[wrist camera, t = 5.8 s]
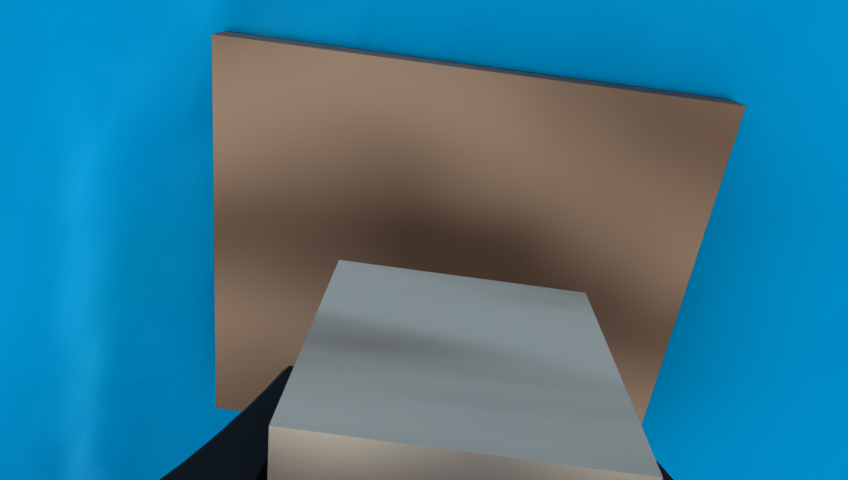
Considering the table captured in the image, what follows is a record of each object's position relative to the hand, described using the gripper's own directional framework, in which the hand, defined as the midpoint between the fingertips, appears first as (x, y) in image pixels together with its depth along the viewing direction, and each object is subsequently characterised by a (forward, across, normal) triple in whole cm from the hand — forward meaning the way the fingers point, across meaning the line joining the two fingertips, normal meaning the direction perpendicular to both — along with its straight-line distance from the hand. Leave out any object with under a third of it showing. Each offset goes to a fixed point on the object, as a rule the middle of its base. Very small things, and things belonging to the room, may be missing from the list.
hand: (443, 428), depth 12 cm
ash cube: (+2, 0, 0) cm, 2 cm away
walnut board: (+8, 0, 0) cm, 8 cm away
